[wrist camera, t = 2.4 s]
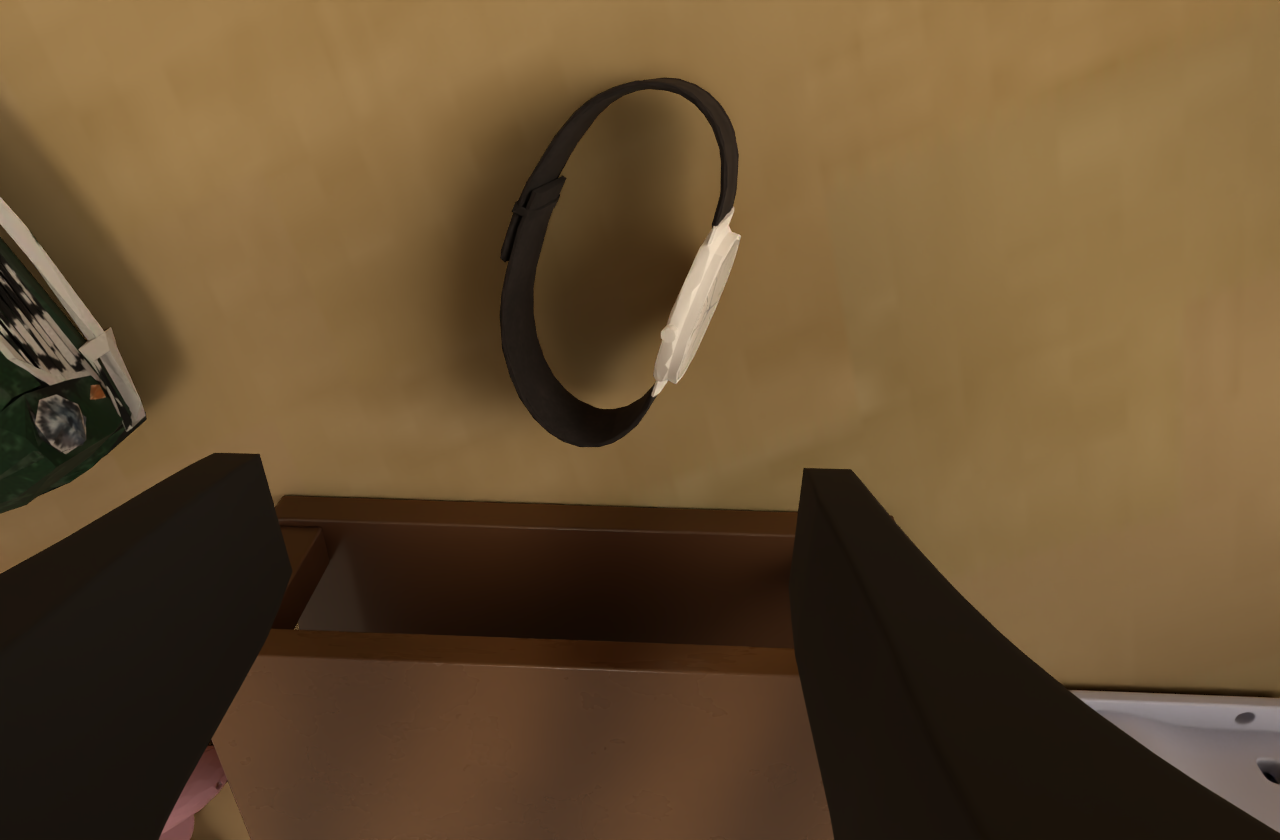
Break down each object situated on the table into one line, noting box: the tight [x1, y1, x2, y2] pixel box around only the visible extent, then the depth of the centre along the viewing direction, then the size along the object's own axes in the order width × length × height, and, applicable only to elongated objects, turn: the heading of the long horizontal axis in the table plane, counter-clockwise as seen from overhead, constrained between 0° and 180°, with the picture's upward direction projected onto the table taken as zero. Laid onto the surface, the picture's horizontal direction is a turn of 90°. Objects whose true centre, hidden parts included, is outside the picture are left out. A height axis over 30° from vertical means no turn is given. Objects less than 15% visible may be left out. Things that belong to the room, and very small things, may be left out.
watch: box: [500, 78, 741, 447], centre depth 17 cm, size 8×5×4 cm, turn 163°
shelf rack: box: [211, 496, 894, 840], centre depth 22 cm, size 16×12×7 cm
